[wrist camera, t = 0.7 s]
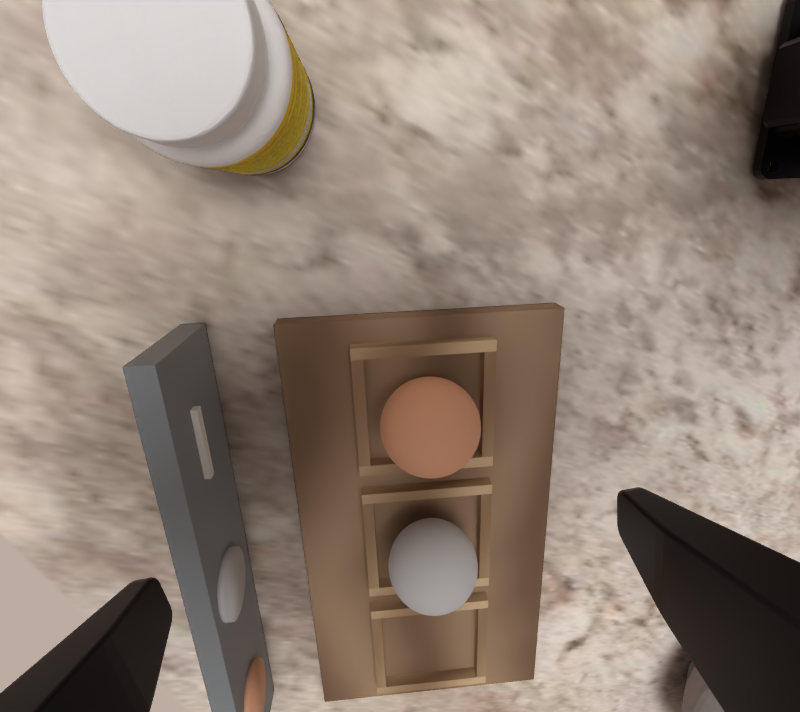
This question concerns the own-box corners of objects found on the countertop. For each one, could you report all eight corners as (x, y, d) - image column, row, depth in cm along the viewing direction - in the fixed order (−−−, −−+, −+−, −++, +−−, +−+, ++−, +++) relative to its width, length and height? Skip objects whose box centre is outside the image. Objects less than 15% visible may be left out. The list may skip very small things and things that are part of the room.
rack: (555, 302, 20) (570, 311, 19) (527, 662, 28) (537, 689, 26) (277, 318, 20) (270, 329, 18) (326, 683, 27) (324, 712, 25)
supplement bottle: (332, 64, 17) (306, -52, 9) (295, 194, 18) (244, 197, 10) (196, 5, 16) (30, -183, 8) (169, 147, 17) (4, 109, 9)
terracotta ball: (469, 359, 20) (494, 398, 16) (468, 441, 21) (491, 495, 17) (375, 365, 20) (379, 406, 16) (380, 448, 21) (385, 504, 17)
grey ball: (467, 496, 22) (489, 559, 18) (466, 562, 23) (486, 633, 20) (384, 503, 22) (388, 568, 18) (388, 569, 23) (393, 642, 19)
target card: (212, 322, 19) (164, 364, 15) (279, 688, 27) (261, 794, 22) (180, 324, 19) (122, 367, 15) (256, 691, 27) (234, 797, 22)
